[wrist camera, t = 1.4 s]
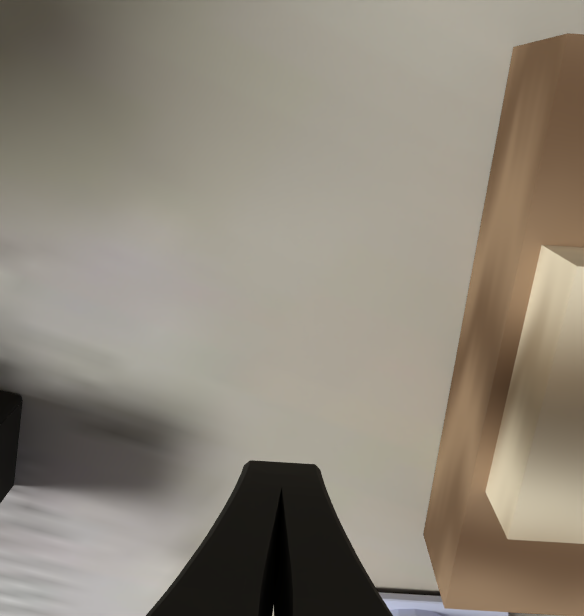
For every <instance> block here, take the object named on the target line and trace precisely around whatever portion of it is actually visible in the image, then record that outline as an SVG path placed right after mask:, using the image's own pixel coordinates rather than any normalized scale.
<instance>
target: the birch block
mask: <svg viewBox="0 0 584 616" xmlns="http://www.w3.org/2000/svg"><path fill="white" fill-rule="evenodd" d="M486 494H487V496H488V499H489V501H490V503H491V505H492V507H493V509H494V511H495V513H496V516H497V518H498V520H499V522H500V524H501V526H502V528H503V530H504V533H505V535H506V537H507V539H511V540H527V541H544V542H561V543H577V544H584V248H582V247H566V246H550V245H542V246H541V250H540V254H539V259H538V263H537V268H536V272H535V276H534V281H533V285H532V289H531V294H530V298H529V303H528V307H527V311H526V316H525V320H524V325H523V329H522V333H521V338H520V342H519V347H518V351H517V355H516V360H515V364H514V369H513V373H512V377H511V382H510V386H509V391H508V395H507V399H506V404H505V408H504V413H503V417H502V421H501V426H500V430H499V434H498V439H497V443H496V448H495V452H494V456H493V461H492V465H491V470H490V474H489V478H488V483H487V487H486Z"/></svg>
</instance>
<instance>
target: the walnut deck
mask: <svg viewBox="0 0 584 616" xmlns="http://www.w3.org/2000/svg"><path fill="white" fill-rule="evenodd" d="M542 245H550V246H566V247H582V248H584V35H583V34H564V35H560V36H556V37H552V38H548V39H544V40H540V41H536V42H532V43H528V44H524V45H520V46H516V47H513V53H512V58H511V63H510V69H509V74H508V80H507V85H506V90H505V96H504V101H503V107H502V112H501V117H500V123H499V128H498V134H497V139H496V144H495V150H494V155H493V161H492V166H491V171H490V177H489V182H488V188H487V193H486V199H485V204H484V209H483V215H482V220H481V226H480V231H479V236H478V242H477V247H476V253H475V258H474V263H473V269H472V274H471V280H470V285H469V290H468V296H467V301H466V307H465V312H464V318H463V323H462V328H461V334H460V339H459V345H458V350H457V355H456V361H455V366H454V372H453V377H452V382H451V388H450V393H449V399H448V404H447V409H446V415H445V420H444V426H443V431H442V436H441V442H440V447H439V453H438V458H437V464H436V469H435V474H434V480H433V485H432V491H431V496H430V501H429V507H428V512H427V518H426V523H425V528H424V538H425V541H426V545H427V549H428V552H429V556H430V559H431V563H432V566H433V570H434V573H435V577H436V581H437V584H438V588H439V591H440V595H441V598H442V602H443V605H444V608H445V609H462V610H479V611H496V612H513V613H530V614H547V615H563V616H584V544H577V543H561V542H544V541H527V540H511V539H507V537H506V535H505V533H504V530H503V528H502V526H501V524H500V522H499V520H498V518H497V516H496V513H495V511H494V509H493V507H492V505H491V503H490V501H489V499H488V496H487V494H486V487H487V483H488V478H489V474H490V470H491V465H492V461H493V456H494V452H495V448H496V443H497V439H498V434H499V430H500V426H501V421H502V417H503V413H504V408H505V404H506V399H507V395H508V391H509V386H510V382H511V377H512V373H513V369H514V364H515V360H516V355H517V351H518V347H519V342H520V338H521V333H522V329H523V325H524V320H525V316H526V311H527V307H528V303H529V298H530V294H531V289H532V285H533V281H534V276H535V272H536V268H537V263H538V259H539V254H540V250H541V246H542Z"/></svg>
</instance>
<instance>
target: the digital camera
mask: <svg viewBox="0 0 584 616" xmlns="http://www.w3.org/2000/svg"><path fill="white" fill-rule="evenodd" d="M21 401H22V397H21V396H20V395H17V394H13V393H9V392H5V391H1V390H0V424H1V425H0V503H1V502H2V500H3V499H4V497H5V496H6V495H7V493H8V492H9V491H10V489H11V488H12V487H13V485H14V477H15V467H16V458H17V448H18V438H19V429H20V419H21V409H22V402H21ZM15 408H16V409H15ZM14 409H15V410H14ZM13 410H14V411H13ZM12 411H13V412H12ZM11 412H12V413H11ZM10 413H11V414H10Z"/></svg>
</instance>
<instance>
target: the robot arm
mask: <svg viewBox="0 0 584 616" xmlns="http://www.w3.org/2000/svg"><path fill="white" fill-rule="evenodd" d="M273 605H274V616H509V612H496V611H479V610H462V609H445V608H444V605H443V602H442V598H441V596H431V595H414V594H397V593H380V592H378V591H377V589H376V588H375V586H374V584H373V583H372V581H371V579H370V578H369V576H368V574H367V572H366V571H365V569H364V567H363V565H362V564H361V562H360V560H359V558H358V556H357V555H356V553H355V551H354V549H353V547H352V545H351V543H350V541H349V539H348V537H347V535H346V533H345V531H344V529H343V527H342V525H341V523H340V521H339V519H338V517H337V514H336V512H335V510H334V507H333V505H332V503H331V500H330V498H329V495H328V493H327V490H326V487H325V484H324V481H323V478H322V475H321V471H320V469H319V468H318V467H317V466H316V465H315V464H300V463H283V462H267V461H249V462H248V463H246V464H245V465H244V467H243V470H242V473H241V475H240V477H239V480H238V482H237V484H236V486H235V488H234V490H233V492H232V494H231V496H230V498H229V499H228V501H227V503H226V505H225V507H224V508H223V510H222V512H221V513H220V515H219V517H218V518H217V520H216V521H215V523H214V525H213V526H212V528H211V529H210V531H209V533H208V534H207V536H206V537H205V539H204V540H203V542H202V543H201V545H200V546H199V548H198V549H197V550H196V552H195V553H194V555H193V556H192V557H191V559H190V560H189V562H188V563H187V564H186V566H185V567H184V569H183V570H182V571H181V573H180V574H179V575H178V577H177V578H176V579H175V581H174V582H173V583H172V585H171V586H170V587H169V588H168V590H167V591H166V592H165V593H164V595H163V596H162V597H161V598H160V600H159V601H158V602H157V603H156V604H155V606H154V607H153V608H152V609H151V610H150V611H149V613H148V614H147V615H146V616H272V612H273Z"/></svg>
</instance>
